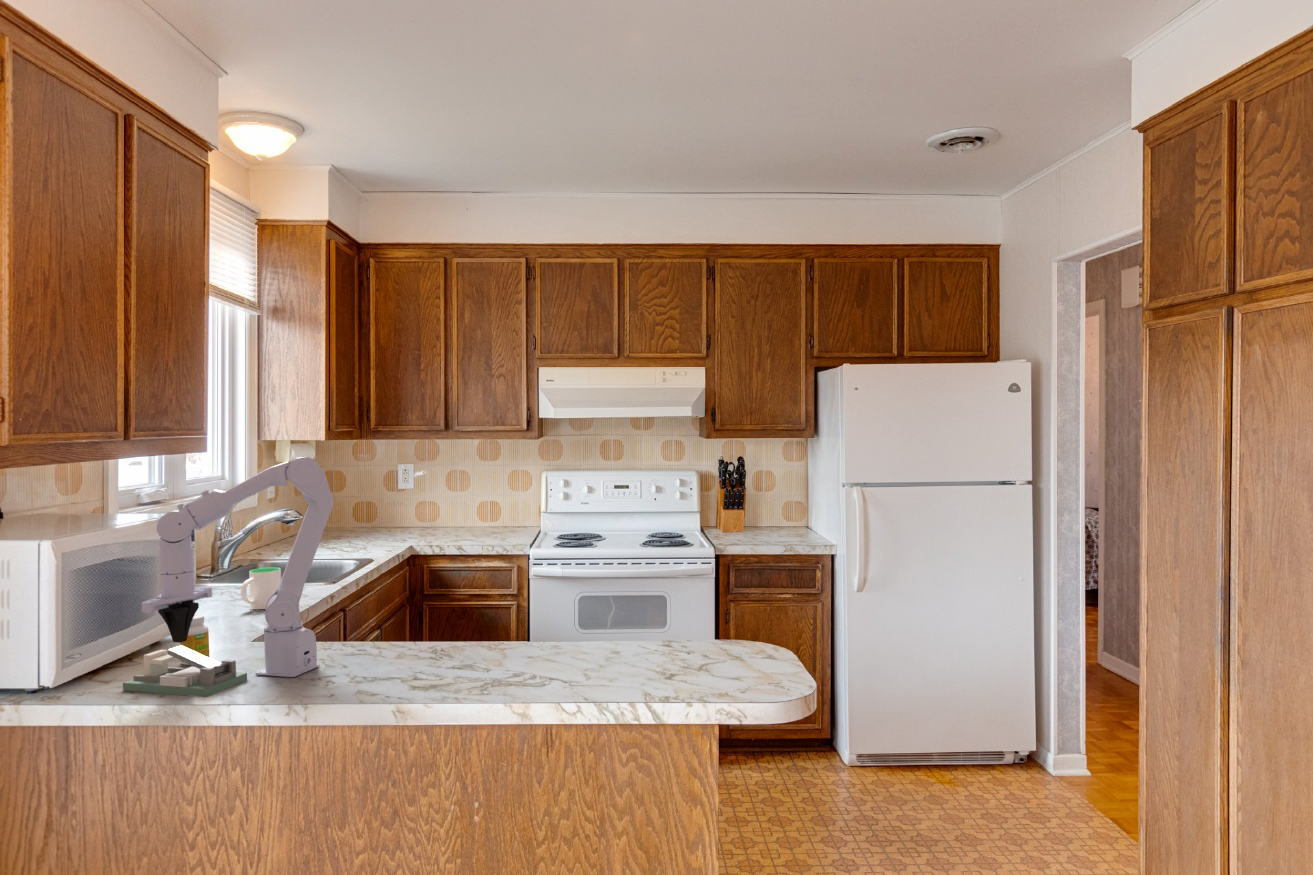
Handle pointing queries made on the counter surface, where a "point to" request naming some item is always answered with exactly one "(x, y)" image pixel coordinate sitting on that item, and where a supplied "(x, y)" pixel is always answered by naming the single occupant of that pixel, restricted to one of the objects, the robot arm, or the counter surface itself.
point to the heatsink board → (187, 681)
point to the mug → (261, 586)
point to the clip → (157, 663)
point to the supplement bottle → (197, 637)
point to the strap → (197, 659)
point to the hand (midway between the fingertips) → (179, 641)
